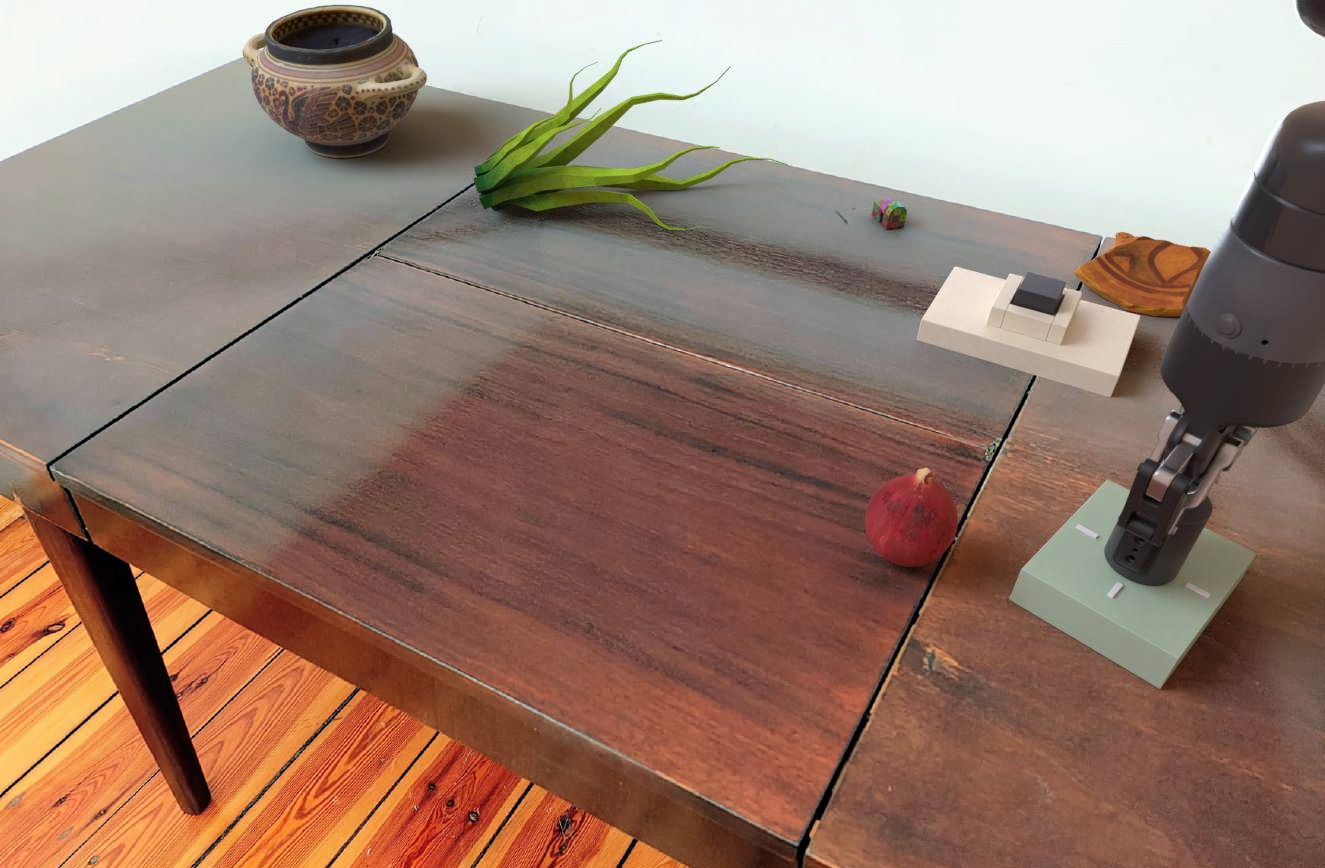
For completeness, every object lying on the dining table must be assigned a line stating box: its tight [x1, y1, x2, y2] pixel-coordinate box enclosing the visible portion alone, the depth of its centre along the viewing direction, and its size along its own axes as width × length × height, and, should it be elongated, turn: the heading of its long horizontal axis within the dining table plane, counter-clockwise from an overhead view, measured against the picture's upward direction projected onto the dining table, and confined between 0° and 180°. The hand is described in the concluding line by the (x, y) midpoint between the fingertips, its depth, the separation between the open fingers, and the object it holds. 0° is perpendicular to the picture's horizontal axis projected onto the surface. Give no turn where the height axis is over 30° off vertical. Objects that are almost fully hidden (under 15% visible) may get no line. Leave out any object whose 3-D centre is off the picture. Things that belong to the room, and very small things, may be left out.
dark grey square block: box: [1013, 271, 1067, 316], centre depth 86 cm, size 3×3×2 cm
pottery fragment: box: [1073, 231, 1212, 317], centre depth 94 cm, size 10×5×10 cm
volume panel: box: [1008, 479, 1258, 690], centre depth 67 cm, size 12×10×3 cm
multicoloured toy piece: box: [871, 198, 908, 230], centre depth 104 cm, size 4×3×2 cm, turn 14°
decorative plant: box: [472, 39, 789, 231], centre depth 103 cm, size 18×30×15 cm, turn 73°
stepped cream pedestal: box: [916, 266, 1142, 398], centre depth 88 cm, size 10×16×4 cm, turn 60°
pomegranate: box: [864, 466, 959, 568], centre depth 67 cm, size 6×6×8 cm
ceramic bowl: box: [242, 4, 428, 159], centre depth 114 cm, size 24×18×15 cm
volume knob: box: [1104, 483, 1214, 586], centre depth 64 cm, size 4×4×6 cm
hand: (1149, 544), depth 65 cm, fingers open, 4 cm apart
